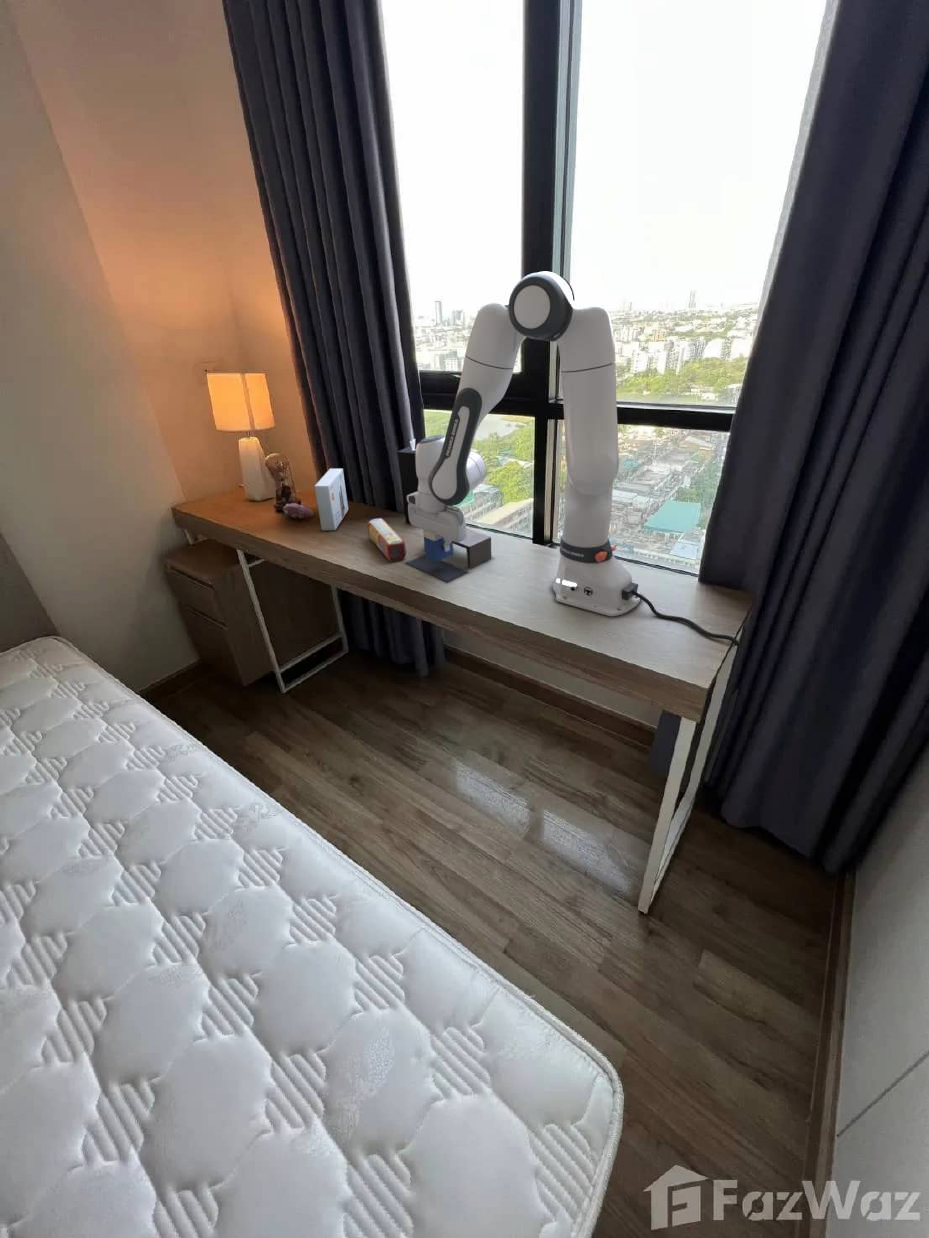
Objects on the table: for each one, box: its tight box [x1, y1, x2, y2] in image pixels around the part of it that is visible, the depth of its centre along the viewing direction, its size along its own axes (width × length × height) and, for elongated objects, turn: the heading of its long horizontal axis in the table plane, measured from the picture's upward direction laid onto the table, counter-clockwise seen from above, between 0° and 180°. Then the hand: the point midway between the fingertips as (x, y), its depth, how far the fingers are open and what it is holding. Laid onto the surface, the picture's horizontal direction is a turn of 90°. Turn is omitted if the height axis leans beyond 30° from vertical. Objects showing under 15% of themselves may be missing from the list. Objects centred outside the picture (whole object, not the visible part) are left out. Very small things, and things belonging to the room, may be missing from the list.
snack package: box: [366, 518, 407, 563], centre depth 156 cm, size 21×7×7 cm, turn 26°
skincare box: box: [314, 468, 349, 531], centre depth 177 cm, size 21×5×16 cm, turn 179°
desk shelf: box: [422, 527, 492, 570], centre depth 150 cm, size 20×9×7 cm, turn 44°
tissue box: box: [396, 438, 419, 525], centre depth 169 cm, size 8×8×28 cm
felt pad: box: [406, 554, 469, 583], centre depth 145 cm, size 18×8×1 cm, turn 44°
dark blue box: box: [422, 530, 454, 562], centre depth 139 cm, size 5×6×8 cm
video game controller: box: [282, 502, 314, 519], centre depth 183 cm, size 10×5×7 cm, turn 73°
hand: (438, 547), depth 140 cm, fingers closed on dark blue box, 4 cm apart
